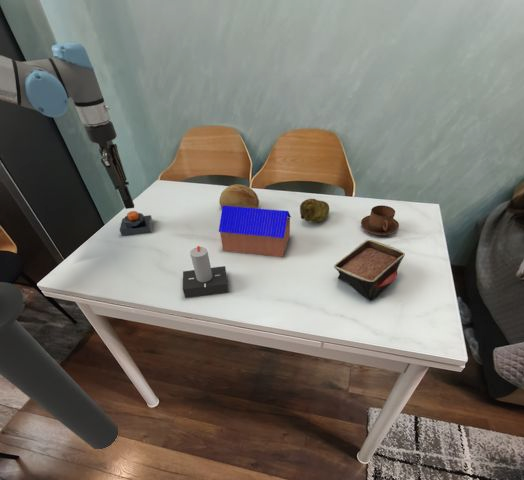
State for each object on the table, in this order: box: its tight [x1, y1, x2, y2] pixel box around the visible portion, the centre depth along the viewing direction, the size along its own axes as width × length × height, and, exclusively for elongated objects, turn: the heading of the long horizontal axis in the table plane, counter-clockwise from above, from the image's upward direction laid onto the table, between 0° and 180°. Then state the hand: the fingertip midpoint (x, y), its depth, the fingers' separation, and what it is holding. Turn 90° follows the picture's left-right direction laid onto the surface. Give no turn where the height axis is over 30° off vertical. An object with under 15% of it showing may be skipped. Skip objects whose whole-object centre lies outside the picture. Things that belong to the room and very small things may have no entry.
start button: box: [126, 210, 139, 221], centre depth 104 cm, size 4×4×2 cm
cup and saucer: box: [360, 204, 400, 236], centre depth 99 cm, size 12×12×6 cm
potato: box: [299, 198, 330, 223], centre depth 103 cm, size 8×13×8 cm, turn 118°
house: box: [218, 206, 292, 258], centre depth 94 cm, size 12×20×12 cm, turn 76°
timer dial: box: [189, 245, 212, 282], centre depth 81 cm, size 4×4×8 cm
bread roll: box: [218, 183, 260, 208], centre depth 111 cm, size 10×15×8 cm, turn 81°
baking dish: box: [333, 239, 406, 302], centre depth 82 cm, size 14×18×10 cm
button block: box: [119, 212, 154, 237], centre depth 106 cm, size 10×8×4 cm
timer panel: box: [182, 265, 230, 299], centre depth 85 cm, size 12×9×3 cm
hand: (130, 207), depth 102 cm, fingers closed
